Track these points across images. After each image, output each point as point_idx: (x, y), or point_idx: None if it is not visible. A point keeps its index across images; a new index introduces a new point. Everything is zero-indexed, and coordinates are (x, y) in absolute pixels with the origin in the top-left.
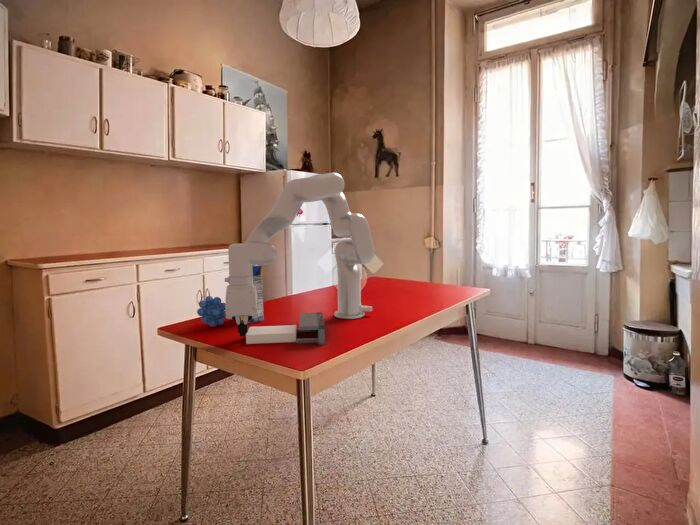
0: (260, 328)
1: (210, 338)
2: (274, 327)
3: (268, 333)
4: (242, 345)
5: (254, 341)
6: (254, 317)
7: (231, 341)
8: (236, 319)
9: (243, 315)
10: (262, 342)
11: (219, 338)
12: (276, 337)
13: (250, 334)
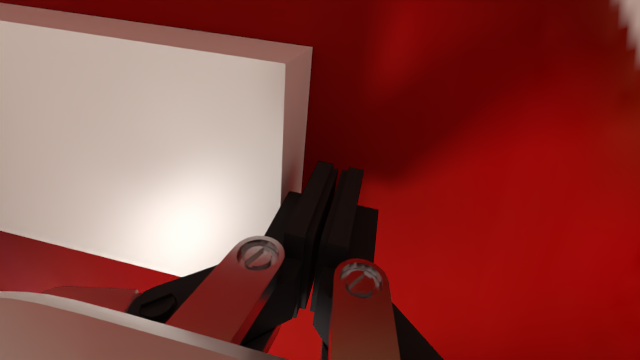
0: (184, 235)
1: (597, 290)
2: (84, 221)
3: (53, 50)
4: (348, 7)
5: (229, 37)
6: (104, 297)
7: (441, 165)
8: (384, 337)
9: (202, 344)
10: (168, 28)
11: (524, 266)
12: (14, 13)
13: (235, 70)
